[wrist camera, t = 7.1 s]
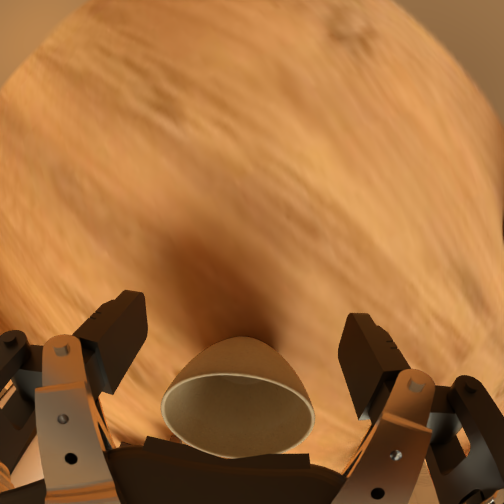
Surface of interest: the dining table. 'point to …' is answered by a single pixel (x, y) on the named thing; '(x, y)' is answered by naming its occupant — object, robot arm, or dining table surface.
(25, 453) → the coffee press
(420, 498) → the skincare box
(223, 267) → the dining table surface
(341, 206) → the dining table surface
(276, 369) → the bowl
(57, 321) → the dining table surface
